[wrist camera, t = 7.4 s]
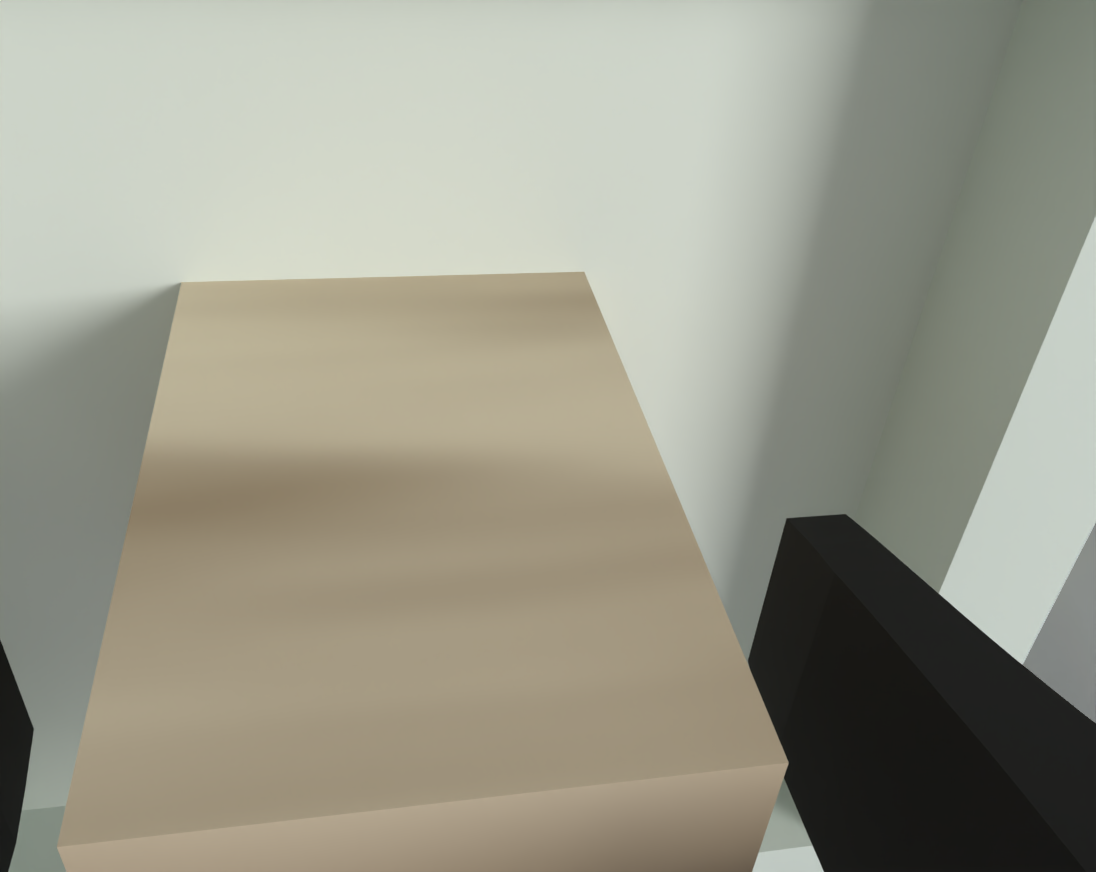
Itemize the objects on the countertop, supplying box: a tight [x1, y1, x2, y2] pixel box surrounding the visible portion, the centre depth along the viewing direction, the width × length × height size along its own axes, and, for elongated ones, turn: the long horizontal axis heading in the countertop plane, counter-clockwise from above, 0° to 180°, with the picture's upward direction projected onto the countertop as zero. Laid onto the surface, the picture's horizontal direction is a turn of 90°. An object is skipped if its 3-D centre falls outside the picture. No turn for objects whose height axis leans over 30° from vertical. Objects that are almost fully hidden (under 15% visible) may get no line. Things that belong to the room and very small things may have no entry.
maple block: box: [57, 272, 789, 872], centre depth 9 cm, size 4×4×6 cm
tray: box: [0, 0, 1096, 872], centre depth 11 cm, size 15×15×2 cm
